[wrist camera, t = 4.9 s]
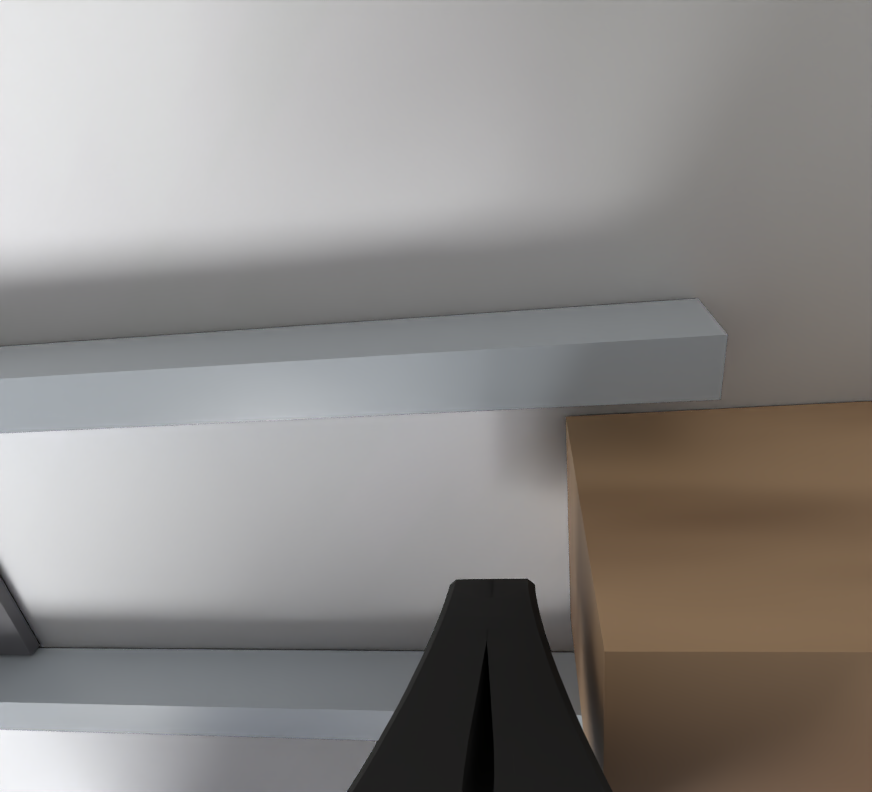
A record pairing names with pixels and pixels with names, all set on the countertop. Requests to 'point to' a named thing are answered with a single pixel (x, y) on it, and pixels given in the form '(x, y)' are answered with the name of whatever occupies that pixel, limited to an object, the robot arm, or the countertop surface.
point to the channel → (311, 399)
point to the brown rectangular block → (724, 596)
